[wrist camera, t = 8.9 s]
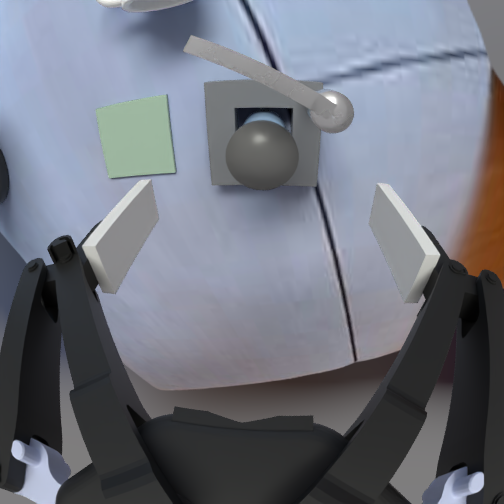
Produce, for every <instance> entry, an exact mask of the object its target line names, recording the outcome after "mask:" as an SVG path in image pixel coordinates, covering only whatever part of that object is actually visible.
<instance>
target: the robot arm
mask: <svg viewBox="0 0 504 504" xmlns="http://www.w3.org/2000/svg"><path fill="white" fill-rule="evenodd" d="M8 188H9V179H8V171H7V167H6V163H5V160H4V157H3V154H2V152H1V150H0V204H1V203H3V202H4V201H5V199H6V197H7V194H8ZM158 220H159V215H158V211H157V206H156V201H155V196H154V191H153V186H152V181H151V179H150V180H140V181H139V182H138V183H137V184H136V185H135V186H134V187H133V188H132V189H131V190H130V191H129V192H128V193H127V194H126V195H125V196H124V197H123V199H122V200H121V201H120V202H119V203H118V204H117V205H116V206H115V207H114V208H113V210H112V211H111V212H110V213H109V214H108V215H107V216H106V217H105V219H104V220H102V221H100V222H99V223H98V224H96V225H95V226H94V227H93V228H92V230H91V231H90V232H89V233H88V234H87V235H86V237H85V238H84V239H83V240H82V242H81V243H80V244H79V245H78V247H77V248H76V247H75V245H74V242H73V240H72V238H71V236H69V235H65V236H61V237H59V238H57V239H55V240H54V241H53V242H51V243H50V245H49V246H48V249H47V250H48V252H49V254H50V256H51V258H52V260H53V262H54V264H52V265H48V266H46V265H45V263H44V261H43V259H41V258H37V259H34V260H31V262H29V263H28V264H27V265H26V266H25V268H24V270H23V272H22V275H21V278H20V281H19V283H18V286H17V290H16V293H15V296H14V299H13V302H12V306H11V309H10V313H9V317H8V320H7V324H6V328H5V333H4V337H3V342H2V347H1V352H0V488H2V489H5V490H8V491H10V492H13V493H16V494H19V495H22V496H25V497H27V498H29V499H31V500H32V501H34V502H36V503H37V504H411V503H410V502H409V501H408V500H407V499H406V498H405V497H404V496H403V495H402V494H401V493H400V492H398V491H397V490H396V489H395V488H394V487H393V486H392V485H391V484H390V483H389V481H390V480H391V478H392V477H393V475H394V474H395V472H396V471H397V469H398V468H399V466H400V465H401V463H402V461H403V460H404V458H405V457H406V455H407V453H408V451H409V450H410V448H411V446H412V444H413V443H414V441H415V439H416V437H417V436H418V434H419V432H420V430H421V428H422V426H423V424H424V422H425V419H426V417H427V412H426V411H425V407H426V405H427V402H428V400H429V398H430V396H431V394H432V391H433V389H434V387H435V384H436V382H437V379H438V377H439V375H440V372H441V370H442V367H443V364H444V362H445V359H446V356H447V353H448V350H449V347H450V344H451V341H452V338H453V335H454V332H455V328H456V325H457V341H456V360H455V372H454V382H453V390H452V398H451V404H450V410H449V416H448V421H447V426H446V431H445V435H444V440H443V444H442V448H441V452H440V456H439V461H438V466H437V473H436V479H435V480H434V481H433V482H432V483H431V484H430V486H429V487H428V489H427V490H426V491H425V492H424V493H423V495H422V500H423V503H422V504H504V292H503V288H502V284H501V281H500V279H499V278H498V277H497V275H496V274H495V273H494V272H491V271H489V270H482V271H481V273H480V275H479V276H478V277H475V276H472V275H468V272H467V270H466V268H465V267H464V266H463V265H462V264H461V263H459V262H458V261H455V260H450V259H449V257H448V256H447V254H446V253H445V251H444V250H443V248H442V247H441V245H439V242H438V241H437V240H436V238H435V237H434V235H433V234H432V232H430V231H429V230H428V229H427V228H426V227H424V226H420V224H419V223H418V221H417V220H416V219H415V217H414V216H413V215H412V213H411V212H410V211H409V209H408V208H407V207H406V205H405V204H404V203H403V202H402V200H401V199H400V198H399V196H398V195H397V194H396V193H395V191H394V190H393V189H392V188H391V187H390V185H389V184H382V183H377V185H376V191H375V196H374V201H373V205H372V210H371V215H370V219H369V225H370V227H371V229H372V231H373V234H374V236H375V238H376V240H377V242H378V244H379V246H380V248H381V250H382V252H383V255H384V257H385V259H386V261H387V263H388V266H389V268H390V270H391V273H392V275H393V277H394V280H395V282H396V284H397V287H398V289H399V292H400V294H401V297H402V299H403V302H404V303H418V301H419V299H420V298H421V296H422V294H424V297H425V299H426V300H425V302H424V304H423V306H422V307H421V309H420V311H419V313H418V315H417V319H416V321H415V323H414V325H413V327H412V329H411V331H410V333H409V335H408V337H407V339H406V341H405V343H404V345H403V347H402V348H401V350H400V352H399V354H398V356H397V358H396V359H395V361H394V363H393V365H392V366H391V368H390V370H389V371H388V373H387V375H386V376H385V378H384V380H383V382H382V383H381V385H380V386H379V388H378V389H377V391H376V392H375V394H374V396H373V397H372V398H371V400H370V401H369V403H368V404H367V406H366V407H365V409H364V410H363V412H362V413H361V414H360V416H359V417H358V418H357V420H356V421H355V422H354V423H353V425H352V426H351V427H350V428H349V429H348V431H347V432H346V433H345V434H344V435H343V436H342V435H341V434H339V433H338V432H336V431H335V430H333V429H331V428H328V427H326V426H323V425H320V424H316V423H313V416H276V417H272V418H267V419H262V420H257V421H251V422H244V423H241V422H237V421H234V420H231V419H228V418H225V417H222V416H219V415H216V414H213V413H210V412H208V411H201V410H194V409H187V408H180V407H175V408H174V412H173V414H169V415H163V416H160V417H156V418H154V419H151V418H150V416H149V415H148V414H147V412H146V411H145V409H144V408H143V406H142V404H141V402H140V400H139V398H138V396H137V394H136V392H135V390H134V388H133V386H132V383H131V381H130V379H129V377H128V375H127V372H126V370H125V368H124V365H123V363H122V361H121V358H120V356H119V353H118V351H117V348H116V346H115V343H114V341H113V338H112V335H111V333H110V330H109V327H108V324H107V322H106V319H105V316H104V313H103V310H102V307H101V304H100V300H99V297H98V294H97V292H96V290H95V288H96V287H97V285H98V284H99V286H100V288H101V290H102V292H103V293H111V294H116V292H117V290H118V289H119V287H120V285H121V283H122V281H123V279H124V278H125V276H126V274H127V272H128V270H129V269H130V267H131V265H132V263H133V262H134V260H135V258H136V256H137V255H138V253H139V251H140V250H141V248H142V246H143V245H144V243H145V241H146V240H147V238H148V236H149V235H150V233H151V231H152V230H153V228H154V227H155V225H156V223H157V222H158ZM61 333H62V335H63V340H64V346H65V351H66V355H67V360H68V364H69V368H70V373H71V377H72V380H73V384H74V390H71V391H70V400H71V404H72V407H73V410H74V413H75V417H76V419H77V423H78V425H79V428H80V431H81V434H82V437H83V440H84V442H85V444H86V447H87V450H88V452H89V455H90V457H91V460H92V463H91V464H89V465H88V466H87V467H85V468H84V469H82V470H81V471H80V472H78V473H77V474H75V475H74V476H72V477H71V478H70V479H68V477H69V476H70V474H71V470H70V467H69V466H68V464H66V463H65V461H64V459H63V457H62V427H61V414H60V387H59V385H60V381H59V380H60V378H59V377H60V376H59V375H60V348H61Z"/></svg>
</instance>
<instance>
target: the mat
mask: <svg viewBox="0 0 504 504" xmlns="http://www.w3.org/2000/svg"><path fill="white" fill-rule="evenodd" d="M96 116H97V122H98V128H99V133H100V139H101V144H102V149H103V154H104V158H105V163H106V167H107V172H108V176H109V178H116V177H126V176H136V175H148V174H161V173H175V172H176V166H175V158H174V151H173V143H172V135H171V126H170V117H169V107H168V97H167V95H161V96H154V97H148V98H143V99H138V100H132V101H128V102H123V103H118V104H114V105H110V106H106V107H102V108H98V109H96Z"/></svg>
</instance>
